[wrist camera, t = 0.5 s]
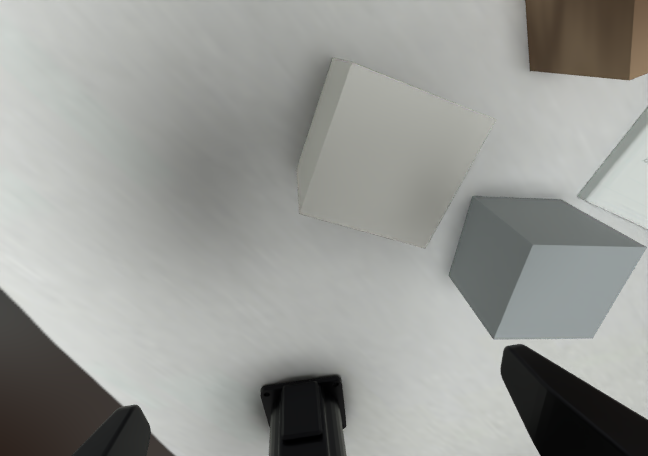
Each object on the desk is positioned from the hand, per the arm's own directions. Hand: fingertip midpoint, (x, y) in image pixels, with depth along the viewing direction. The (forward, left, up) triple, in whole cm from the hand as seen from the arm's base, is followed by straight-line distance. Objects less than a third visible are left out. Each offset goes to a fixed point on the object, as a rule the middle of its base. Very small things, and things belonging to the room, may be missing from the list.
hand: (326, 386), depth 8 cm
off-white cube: (+3, -4, -13) cm, 14 cm away
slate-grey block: (-5, -13, -13) cm, 19 cm away
